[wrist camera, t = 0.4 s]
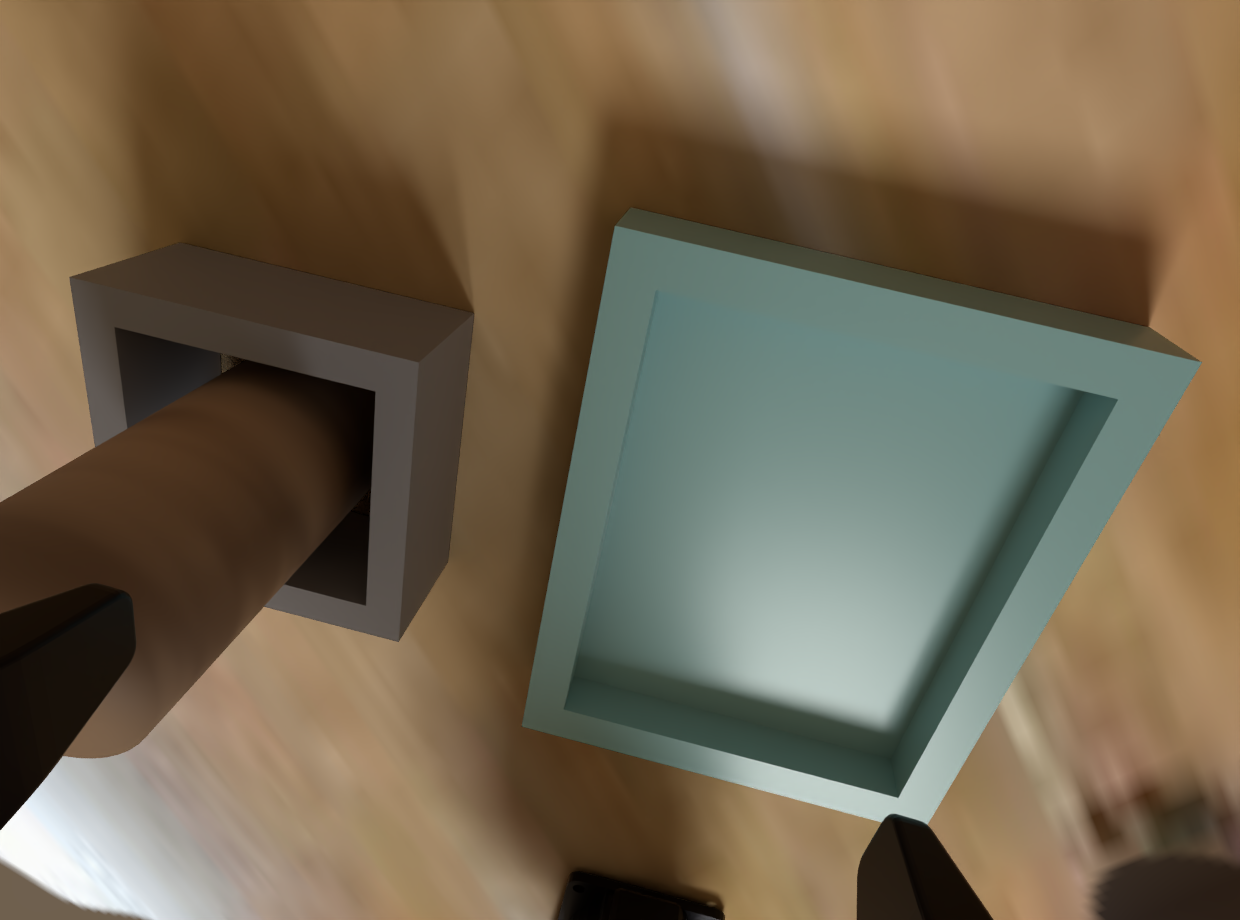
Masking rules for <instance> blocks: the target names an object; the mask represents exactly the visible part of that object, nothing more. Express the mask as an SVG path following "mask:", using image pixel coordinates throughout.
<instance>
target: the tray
mask: <svg viewBox="0 0 1240 920" xmlns="http://www.w3.org/2000/svg"><path fill="white" fill-rule="evenodd" d="M1201 363H1202V362H1201V361H1199V360H1198V359H1196V358H1195V357H1193V356H1192V355H1190V354H1189V353H1187V352H1186V351H1184V350H1183V349H1181V348H1180V347H1178V346H1177V345H1175V344H1174V343H1172V342H1171V341H1169V340H1168V339H1166V338H1165V337H1163V336H1162V335H1160V334H1159V333H1157V332H1156V331H1154V330H1153V329H1151V328H1150V327H1146V326H1141V325H1137V324H1133V323H1128V322H1124V321H1120V320H1115V319H1111V318H1107V317H1102V316H1098V315H1094V314H1089V313H1085V312H1081V311H1076V310H1072V309H1068V308H1063V307H1059V306H1055V305H1051V304H1046V303H1042V302H1038V301H1033V300H1029V299H1025V298H1020V297H1016V296H1012V295H1007V294H1003V293H999V292H994V291H990V290H986V289H981V288H977V287H973V286H968V285H964V284H960V283H956V282H951V281H947V280H943V279H938V278H934V277H930V276H925V275H921V274H917V273H912V272H908V271H904V270H899V269H895V268H891V267H886V266H882V265H878V264H873V263H869V262H865V261H860V260H856V259H852V258H848V257H843V256H839V255H835V254H830V253H826V252H822V251H817V250H813V249H809V248H804V247H800V246H796V245H791V244H787V243H783V242H778V241H774V240H770V239H765V238H761V237H757V236H753V235H748V234H744V233H740V232H735V231H731V230H727V229H722V228H718V227H714V226H709V225H705V224H701V223H696V222H692V221H688V220H683V219H679V218H675V217H670V216H666V215H662V214H658V213H653V212H649V211H645V210H640V209H636V208H632V207H631V208H630V209H629V210H628V211H627V212H626V213H625V215H624V216H623V217H622V218H621V219H620V220H619V222H618V223H617V224H616V225H615V228H614V233H613V239H612V244H611V249H610V255H609V260H608V265H607V271H606V276H605V282H604V287H603V292H602V298H601V303H600V308H599V314H598V319H597V325H596V330H595V335H594V341H593V346H592V351H591V357H590V362H589V368H588V373H587V378H586V384H585V389H584V394H583V400H582V405H581V411H580V416H579V421H578V427H577V432H576V437H575V443H574V448H573V453H572V459H571V464H570V470H569V475H568V480H567V486H566V491H565V496H564V502H563V507H562V513H561V518H560V523H559V529H558V534H557V539H556V545H555V550H554V556H553V561H552V566H551V572H550V577H549V582H548V588H547V593H546V599H545V604H544V609H543V615H542V620H541V625H540V631H539V636H538V642H537V647H536V652H535V658H534V663H533V668H532V674H531V679H530V685H529V690H528V695H527V701H526V706H525V711H524V717H523V722H522V727H525V728H529V729H533V730H537V731H540V732H544V733H548V734H552V735H555V736H559V737H563V738H567V739H571V740H574V741H578V742H582V743H586V744H589V745H593V746H597V747H601V748H604V749H608V750H612V751H616V752H619V753H623V754H627V755H631V756H634V757H638V758H642V759H646V760H650V761H653V762H657V763H661V764H665V765H668V766H672V767H676V768H680V769H683V770H687V771H691V772H695V773H698V774H702V775H706V776H710V777H713V778H717V779H721V780H725V781H729V782H732V783H736V784H740V785H744V786H747V787H751V788H755V789H759V790H762V791H766V792H770V793H774V794H777V795H781V796H785V797H789V798H792V799H796V800H800V801H804V802H808V803H811V804H815V805H819V806H823V807H826V808H830V809H834V810H838V811H841V812H845V813H849V814H853V815H856V816H860V817H864V818H868V819H871V820H875V821H879V822H882V821H883V820H884V819H885V817H886V816H888V815H889V814H898V815H902V816H905V817H909V818H912V819H916V820H919V821H922V822H924V823H925V824H928V823H929V821H930V819H931V818H932V816H933V814H934V813H935V811H936V809H937V808H938V806H939V804H940V803H941V801H942V799H943V797H944V796H945V794H946V792H947V791H948V789H949V787H950V786H951V784H952V782H953V781H954V779H955V777H956V776H957V774H958V772H959V771H960V769H961V767H962V765H963V764H964V762H965V760H966V759H967V757H968V755H969V754H970V752H971V750H972V749H973V747H974V745H975V744H976V742H977V740H978V739H979V737H980V735H981V734H982V732H983V730H984V728H985V727H986V725H987V723H988V722H989V720H990V718H991V717H992V715H993V713H994V712H995V710H996V708H997V707H998V705H999V703H1000V702H1001V700H1002V698H1003V696H1004V695H1005V693H1006V691H1007V690H1008V688H1009V686H1010V685H1011V683H1012V681H1013V680H1014V678H1015V676H1016V675H1017V673H1018V671H1019V670H1020V668H1021V666H1022V664H1023V663H1024V661H1025V659H1026V658H1027V656H1028V654H1029V653H1030V651H1031V649H1032V648H1033V646H1034V644H1035V643H1036V641H1037V639H1038V638H1039V636H1040V634H1041V633H1042V631H1043V629H1044V627H1045V626H1046V624H1047V622H1048V621H1049V619H1050V617H1051V616H1052V614H1053V612H1054V611H1055V609H1056V607H1057V606H1058V604H1059V602H1060V601H1061V599H1062V597H1063V595H1064V594H1065V592H1066V590H1067V589H1068V587H1069V585H1070V584H1071V582H1072V580H1073V579H1074V577H1075V575H1076V574H1077V572H1078V570H1079V569H1080V567H1081V565H1082V564H1083V562H1084V560H1085V558H1086V557H1087V555H1088V553H1089V552H1090V550H1091V548H1092V547H1093V545H1094V543H1095V542H1096V540H1097V538H1098V537H1099V535H1100V533H1101V532H1102V530H1103V528H1104V526H1105V525H1106V523H1107V521H1108V520H1109V518H1110V516H1111V515H1112V513H1113V511H1114V510H1115V508H1116V506H1117V505H1118V503H1119V501H1120V500H1121V498H1122V496H1123V494H1124V493H1125V491H1126V489H1127V488H1128V486H1129V484H1130V483H1131V481H1132V479H1133V478H1134V476H1135V474H1136V473H1137V471H1138V469H1139V468H1140V466H1141V464H1142V463H1143V461H1144V459H1145V457H1146V456H1147V454H1148V452H1149V451H1150V449H1151V447H1152V446H1153V444H1154V442H1155V441H1156V439H1157V437H1158V436H1159V434H1160V432H1161V431H1162V429H1163V427H1164V425H1165V424H1166V422H1167V420H1168V419H1169V417H1170V415H1171V414H1172V412H1173V410H1174V409H1175V407H1176V405H1177V404H1178V402H1179V400H1180V399H1181V397H1182V395H1183V393H1184V392H1185V390H1186V388H1187V387H1188V385H1189V383H1190V382H1191V380H1192V378H1193V377H1194V375H1195V373H1196V372H1197V370H1198V368H1199V367H1200V365H1201Z"/></svg>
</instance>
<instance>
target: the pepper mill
mask: <svg viewBox="0 0 1240 920" xmlns="http://www.w3.org/2000/svg"><path fill="white" fill-rule="evenodd" d="M375 395H376V391H372V390H368V389H364V388H360V387H355V386H351V385H347V384H343V383H339V382H335V381H331V380H327V379H323V378H319V377H315V376H311V375H307V374H303V373H299V372H295V371H291V370H287V369H283V368H279V367H274V366H270V365H266V364H262V363H258V362H254V361H250V360H245V361H243V362H241V363H240V364H238V365H236V366H234V367H233V368H231V369H229V370H227V371H226V372H224V373H222V374H221V375H219V376H217V377H215V378H214V379H212V380H210V381H209V382H207V383H205V384H203V385H202V386H200V387H198V388H196V389H195V390H193V391H191V392H190V393H188V394H186V395H184V396H183V397H181V398H179V399H178V400H176V401H174V402H172V403H171V404H169V405H167V406H166V407H164V408H162V409H160V410H159V411H157V412H155V413H153V414H152V415H150V416H148V417H147V418H145V419H143V420H141V421H140V422H138V423H136V424H135V425H133V426H131V427H129V428H128V429H126V430H124V431H123V432H121V433H119V434H117V435H116V436H114V437H112V438H110V439H109V440H107V441H105V442H104V443H102V444H100V445H98V446H97V447H95V448H93V449H92V450H90V451H88V452H86V453H85V454H83V455H81V456H79V457H78V458H76V459H74V460H73V461H71V462H69V463H67V464H66V465H64V466H62V467H61V468H59V469H57V470H55V471H54V472H52V473H50V474H49V475H47V476H45V477H43V478H42V479H40V480H38V481H36V482H35V483H33V484H31V485H30V486H28V487H26V488H24V489H23V490H21V491H19V492H18V493H16V494H14V495H12V496H11V497H9V498H7V499H6V500H4V501H2V502H0V613H2V612H5V611H8V610H11V609H14V608H17V607H20V606H23V605H26V604H29V603H32V602H35V601H38V600H41V599H44V598H47V597H50V596H53V595H56V594H59V593H62V592H65V591H68V590H71V589H74V588H77V587H80V586H83V585H86V584H91V583H99V584H103V585H106V586H110V587H113V588H117V589H120V590H124V591H126V592H127V593H129V595H130V596H131V598H132V601H133V610H134V620H135V631H136V650H135V654H134V657H133V659H132V661H131V663H130V664H129V666H128V667H127V669H126V670H125V671H124V673H123V674H122V676H121V677H120V678H119V680H118V681H117V682H116V684H115V685H114V686H113V688H112V689H111V691H110V692H109V693H108V695H107V696H106V697H105V699H104V700H103V702H102V703H101V704H100V706H99V707H98V708H97V710H96V711H95V712H94V714H93V715H92V717H91V718H90V719H89V721H88V722H87V723H86V725H85V726H84V727H83V729H82V730H81V732H80V733H79V734H78V736H77V737H76V738H75V740H74V741H73V743H72V744H71V745H70V747H69V748H68V749H67V751H66V752H65V753H64V755H63V756H68V757H76V758H103V757H109V756H114V755H118V754H121V753H123V752H126V751H128V750H130V749H132V748H133V747H135V746H136V745H138V744H139V743H140V742H141V741H142V740H143V739H144V738H145V737H146V736H147V735H148V734H149V733H150V732H151V731H152V730H153V729H154V727H155V726H156V725H157V724H158V723H159V722H160V721H161V720H162V719H163V717H164V716H165V715H166V714H167V713H168V712H169V711H170V710H171V709H172V708H173V706H174V705H175V704H176V703H177V702H178V701H179V700H180V699H181V698H182V696H183V695H184V694H185V693H186V692H187V691H188V690H189V689H190V688H191V687H192V685H193V684H194V683H195V682H196V681H197V680H198V679H199V678H200V677H201V676H202V674H203V673H204V672H205V671H206V670H207V669H208V668H209V667H210V666H211V664H212V663H213V662H214V661H215V660H216V659H217V658H218V657H219V656H220V655H221V653H222V652H223V651H224V650H225V649H226V648H227V647H228V646H229V645H230V643H231V642H232V641H233V640H234V639H235V638H236V637H237V636H238V635H239V634H240V632H241V631H242V630H243V629H244V628H245V627H246V626H247V625H248V624H249V622H250V621H251V620H252V619H253V618H254V617H255V616H256V615H257V614H258V613H259V611H260V610H261V609H262V608H263V607H264V606H265V605H266V604H267V603H268V602H269V600H270V599H271V598H272V597H273V596H274V595H275V594H276V593H277V592H278V590H279V589H280V588H281V587H282V586H283V585H284V584H285V583H286V582H287V581H288V579H289V578H290V577H291V576H292V575H293V574H294V573H295V572H296V571H297V569H298V568H299V567H300V566H301V565H302V564H303V563H304V562H305V561H306V560H307V558H308V557H309V556H310V555H311V554H312V553H313V552H314V551H315V550H316V548H317V547H318V546H319V545H320V544H321V543H322V542H323V541H324V540H325V539H326V537H327V536H328V535H329V534H330V533H331V532H332V531H333V530H334V529H335V528H336V526H337V525H338V524H339V523H340V522H341V521H342V520H343V519H344V518H345V516H346V515H347V514H348V513H349V512H350V511H351V510H352V509H353V508H354V507H355V505H356V504H357V503H358V502H359V501H360V500H361V499H362V498H363V497H364V495H365V494H366V493H367V492H368V491H369V490H370V489H371V484H372V462H373V440H374V417H375Z"/></svg>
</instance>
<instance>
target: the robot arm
mask: <svg viewBox="0 0 1240 920" xmlns="http://www.w3.org/2000/svg"><path fill="white" fill-rule="evenodd" d="M135 650H136V631H135V620H134V610H133V601H132V598H131V596H130V595H129V593H127V592H126V591H124V590H120V589H117V588H113V587H110V586H106V585H103V584H99V583H91V584H86V585H83V586H80V587H77V588H74V589H71V590H68V591H65V592H62V593H59V594H56V595H53V596H50V597H47V598H44V599H41V600H38V601H35V602H32V603H29V604H26V605H23V606H20V607H17V608H14V609H11V610H8V611H5V612H2V613H0V830H1V829H2V828H3V827H4V826H5V824H6V823H7V822H8V821H9V820H10V819H11V818H12V817H13V815H14V814H15V813H16V812H17V811H18V810H19V809H20V808H21V806H22V805H23V804H24V803H25V802H26V801H27V800H28V798H29V797H30V796H31V795H32V794H33V793H34V791H35V790H36V789H37V788H38V787H39V786H40V784H41V783H42V782H43V781H44V780H45V778H46V777H47V776H48V774H49V773H50V772H51V771H52V769H53V768H54V767H55V765H56V764H57V763H58V762H59V760H60V759H61V758H62V756H63V755H64V753H65V752H66V751H67V749H68V748H69V747H70V745H71V744H72V743H73V741H74V740H75V738H76V737H77V736H78V734H79V733H80V732H81V730H82V729H83V727H84V726H85V725H86V723H87V722H88V721H89V719H90V718H91V717H92V715H93V714H94V712H95V711H96V710H97V708H98V707H99V706H100V704H101V703H102V702H103V700H104V699H105V697H106V696H107V695H108V693H109V692H110V691H111V689H112V688H113V686H114V685H115V684H116V682H117V681H118V680H119V678H120V677H121V676H122V674H123V673H124V671H125V670H126V669H127V667H128V666H129V664H130V663H131V661H132V659H133V657H134V654H135ZM558 920H725V915H724V913H723V912H721V911H720V910H718V909H716V908H712V907H708V906H705V905H701V904H697V903H694V902H690V901H686V900H683V899H679V898H675V897H672V896H668V895H664V894H661V893H657V892H654V891H650V890H646V889H643V888H639V887H635V886H632V885H628V884H624V883H621V882H617V881H613V880H610V879H606V878H602V877H599V876H595V875H591V874H588V873H584V872H573V873H571V874H570V876H569V879H568V882H567V886H566V890H565V894H564V898H563V901H562V905H561V909H560V913H559V917H558ZM857 920H993V918H992V917H991V915H990V914H989V912H988V911H987V910H986V908H985V907H984V905H983V904H982V902H981V901H980V899H979V898H978V896H977V895H976V893H975V892H974V891H973V889H972V888H971V886H970V885H969V883H968V882H967V880H966V879H965V877H964V876H963V874H962V873H961V872H960V870H959V869H958V867H957V866H956V864H955V863H954V861H953V860H952V858H951V857H950V855H949V854H948V853H947V851H946V850H945V848H944V847H943V845H942V844H941V842H940V841H939V839H938V838H937V836H936V835H935V834H934V832H933V831H932V829H931V828H930V827H929V826H928V825H927V824H925V823H924V822H922V821H919V820H916V819H912V818H909V817H905V816H902V815H898V814H889V815H888V816H886V817H885V819H884V820H883V821H882V823H881V825H880V826H879V828H878V830H877V832H876V833H875V835H874V837H873V838H872V840H871V842H870V843H869V845H868V847H867V849H866V850H865V852H864V854H863V856H862V858H861V861H860V864H859V868H858V875H857Z"/></svg>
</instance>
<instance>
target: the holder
mask: <svg viewBox="0 0 1240 920" xmlns="http://www.w3.org/2000/svg"><path fill="white" fill-rule="evenodd" d="M69 278H70V285H71V291H72V298H73V304H74V311H75V318H76V324H77V331H78V337H79V344H80V351H81V357H82V364H83V370H84V377H85V384H86V390H87V397H88V403H89V410H90V416H91V423H92V430H93V436H94V443H95V447H97V446H98V445H100V444H102V443H104V442H105V441H107V440H109V439H110V438H112V437H114V436H116V435H117V434H119V433H121V432H123V431H124V430H126V429H128V428H129V427H131V426H133V425H135V424H136V423H138V422H140V421H141V420H143V419H145V418H147V417H148V416H150V415H152V414H153V413H155V412H157V411H159V410H160V409H162V408H164V407H166V406H167V405H169V404H171V403H172V402H174V401H176V400H178V399H179V398H181V397H183V396H184V395H186V394H188V393H190V392H191V391H193V390H195V389H196V388H198V387H200V386H202V385H203V384H205V383H207V382H209V381H210V380H212V379H214V378H215V377H217V376H219V375H221V361H220V353H222V354H226V355H230V356H234V357H238V358H242V359H246V360H250V361H254V362H258V363H262V364H266V365H270V366H274V367H279V368H283V369H287V370H291V371H295V372H299V373H303V374H307V375H311V376H315V377H319V378H323V379H327V380H331V381H335V382H339V383H343V384H347V385H351V386H355V387H360V388H364V389H368V390H372V391H376V395H375V417H374V440H373V462H372V484H371V507H370V516H366V515H362V514H358V513H354V512H349V513H348V514H347V515H346V516H345V518H344V519H343V520H342V521H341V522H340V523H339V524H338V525H337V526H336V528H335V529H334V530H333V531H332V532H331V533H330V534H329V535H328V536H327V537H326V539H325V540H324V541H323V542H322V543H321V544H320V545H319V546H318V547H317V548H316V550H315V551H314V552H313V553H312V554H311V555H310V556H309V557H308V558H307V560H306V561H305V562H304V563H303V564H302V565H301V566H300V567H299V568H298V569H297V571H296V572H295V573H294V574H293V575H292V576H291V577H290V578H289V579H288V581H287V582H286V583H285V584H284V585H283V586H282V587H281V588H280V589H279V590H278V592H277V593H276V594H275V595H274V596H273V597H272V598H271V599H270V600H269V602H268V603H267V604H266V605H265V606H264V607H267V608H271V609H275V610H279V611H283V612H287V613H290V614H294V615H298V616H302V617H306V618H309V619H313V620H317V621H321V622H325V623H328V624H332V625H336V626H340V627H344V628H347V629H351V630H355V631H359V632H363V633H367V634H370V635H374V636H378V637H382V638H386V639H389V640H393V641H397V642H399V640H400V639H401V637H402V636H403V634H404V632H405V631H406V629H407V627H408V626H409V624H410V623H411V621H412V619H413V618H414V616H415V615H416V613H417V611H418V610H419V608H420V606H421V605H422V603H423V602H424V600H425V598H426V597H427V595H428V593H429V592H430V590H431V589H432V587H433V585H434V584H435V582H436V580H437V579H438V577H439V576H440V574H441V572H442V571H443V569H444V568H445V566H446V564H447V563H448V557H449V548H450V538H451V529H452V519H453V510H454V500H455V491H456V481H457V472H458V463H459V453H460V444H461V434H462V425H463V415H464V406H465V397H466V387H467V378H468V368H469V359H470V349H471V340H472V330H473V321H474V313H471V312H467V311H463V310H459V309H454V308H450V307H446V306H442V305H438V304H434V303H430V302H425V301H421V300H417V299H413V298H409V297H405V296H400V295H396V294H392V293H388V292H384V291H380V290H375V289H371V288H367V287H363V286H359V285H355V284H351V283H346V282H342V281H338V280H334V279H330V278H326V277H321V276H317V275H313V274H309V273H305V272H301V271H296V270H292V269H288V268H284V267H280V266H276V265H272V264H267V263H263V262H259V261H255V260H251V259H247V258H242V257H238V256H234V255H230V254H226V253H222V252H217V251H213V250H209V249H205V248H201V247H197V246H193V245H188V244H184V243H177V244H174V245H171V246H168V247H164V248H161V249H158V250H155V251H152V252H148V253H145V254H142V255H139V256H136V257H132V258H129V259H126V260H123V261H120V262H116V263H113V264H110V265H107V266H104V267H100V268H97V269H94V270H91V271H87V272H84V273H81V274H78V275H75V276H71V277H69Z"/></svg>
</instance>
